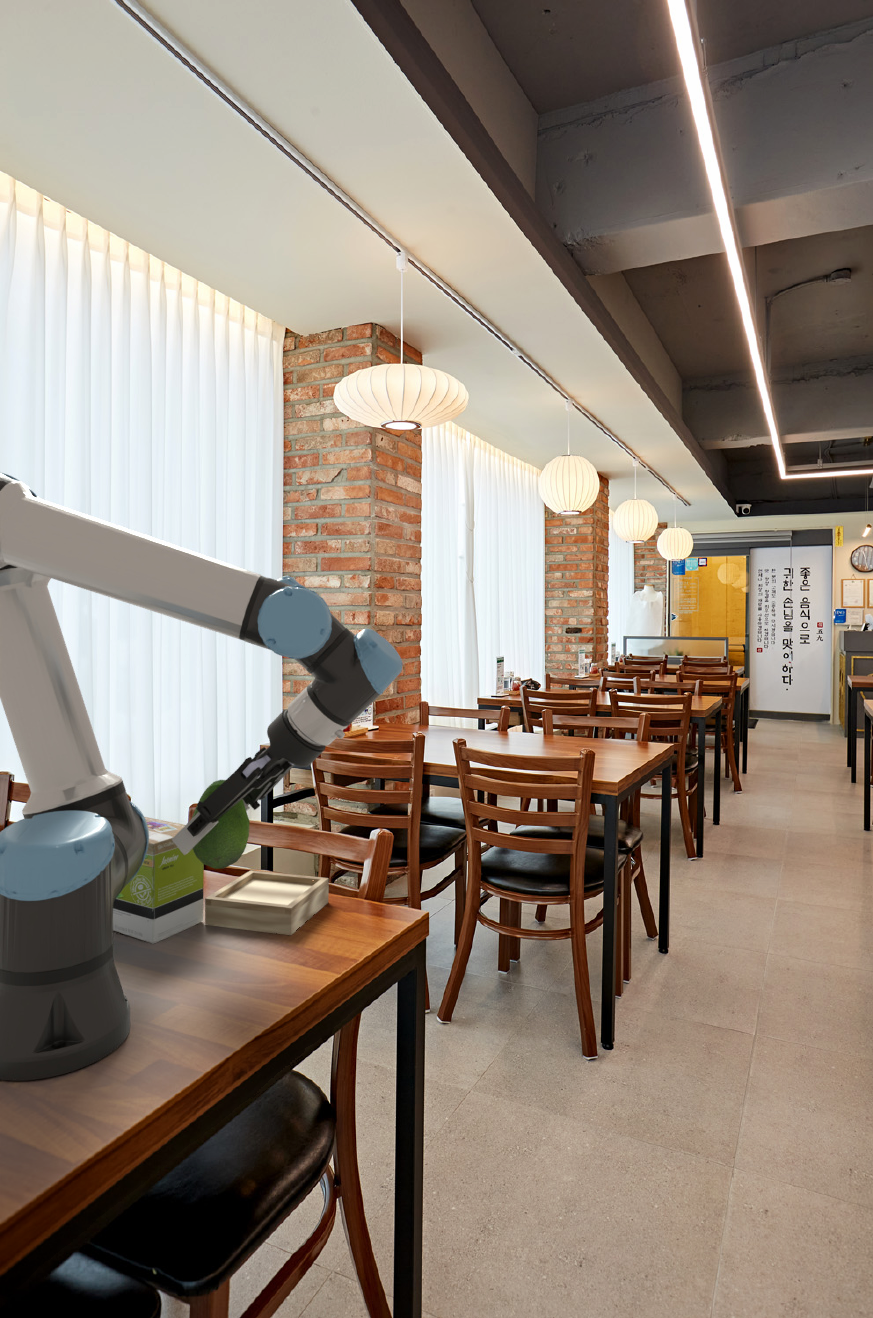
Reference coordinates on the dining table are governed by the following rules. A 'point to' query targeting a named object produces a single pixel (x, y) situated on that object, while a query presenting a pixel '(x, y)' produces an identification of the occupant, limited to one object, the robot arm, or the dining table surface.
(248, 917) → the wooden tray
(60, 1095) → the dining table surface
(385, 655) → the robot arm
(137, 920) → the tea box
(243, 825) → the avocado
